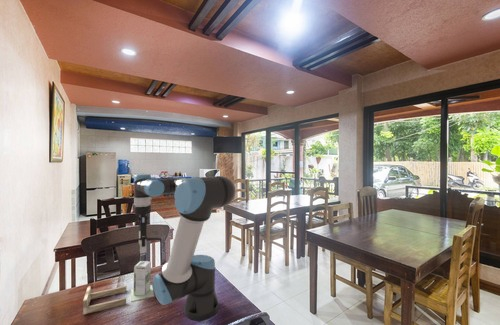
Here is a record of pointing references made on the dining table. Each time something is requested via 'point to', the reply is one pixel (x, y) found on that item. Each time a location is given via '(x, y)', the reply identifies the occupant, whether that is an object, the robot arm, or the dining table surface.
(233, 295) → the dining table surface
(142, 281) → the syrup box
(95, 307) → the wooden channel
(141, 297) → the sage mat
